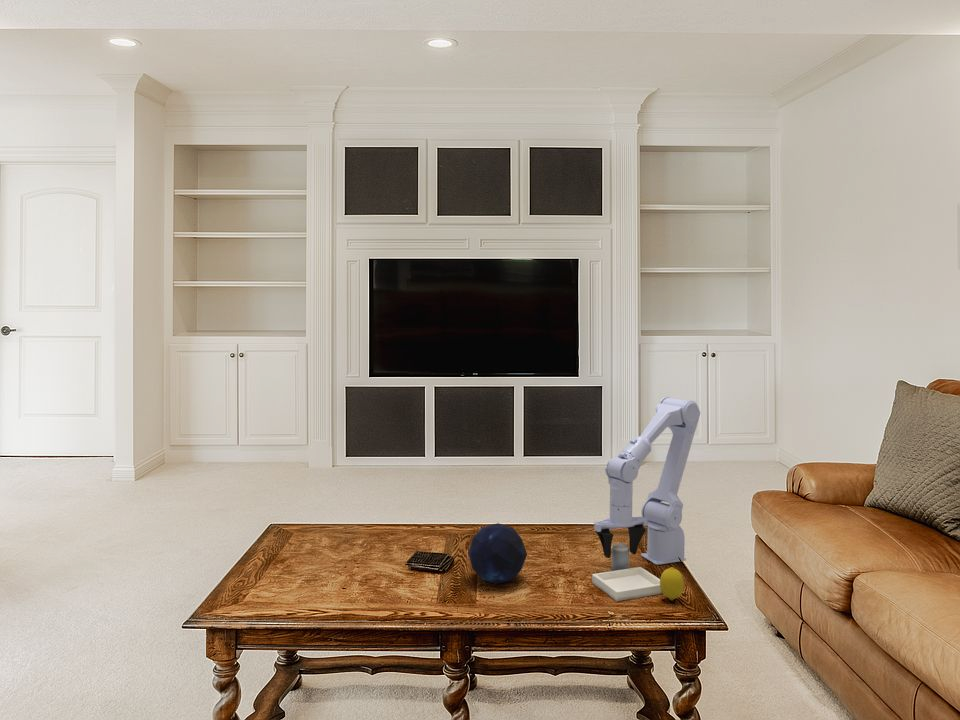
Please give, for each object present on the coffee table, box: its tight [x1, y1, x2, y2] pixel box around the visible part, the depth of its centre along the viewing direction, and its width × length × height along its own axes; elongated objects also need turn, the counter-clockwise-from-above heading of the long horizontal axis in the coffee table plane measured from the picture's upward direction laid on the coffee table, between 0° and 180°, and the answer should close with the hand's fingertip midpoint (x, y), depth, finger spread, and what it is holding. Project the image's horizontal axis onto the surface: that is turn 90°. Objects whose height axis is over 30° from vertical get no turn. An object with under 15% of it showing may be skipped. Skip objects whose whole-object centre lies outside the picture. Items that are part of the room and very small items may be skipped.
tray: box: [591, 566, 664, 602], centre depth 183 cm, size 14×12×2 cm
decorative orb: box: [467, 522, 528, 585], centre depth 188 cm, size 14×15×15 cm
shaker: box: [611, 542, 630, 571], centre depth 194 cm, size 4×4×7 cm
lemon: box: [659, 566, 685, 601], centre depth 175 cm, size 6×6×8 cm
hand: (620, 555), depth 193 cm, fingers open, 7 cm apart
